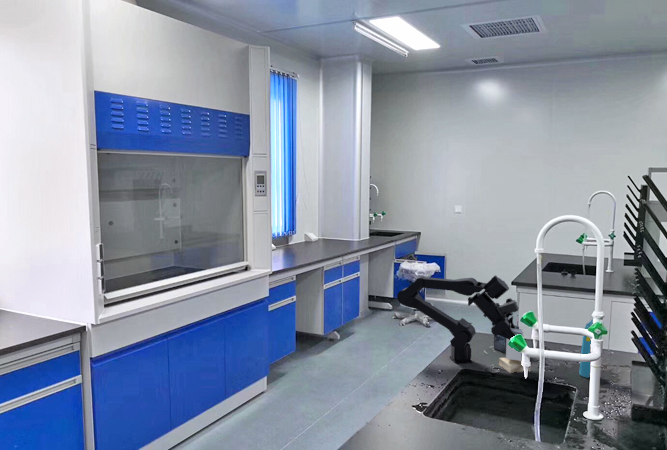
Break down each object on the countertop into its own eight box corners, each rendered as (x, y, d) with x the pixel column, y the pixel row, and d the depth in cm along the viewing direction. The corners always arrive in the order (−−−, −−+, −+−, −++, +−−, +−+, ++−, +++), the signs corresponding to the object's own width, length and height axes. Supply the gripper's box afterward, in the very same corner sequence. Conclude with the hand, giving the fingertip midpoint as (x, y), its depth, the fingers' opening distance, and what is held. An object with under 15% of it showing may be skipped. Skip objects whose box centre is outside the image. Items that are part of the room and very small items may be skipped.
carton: (505, 358, 180) (506, 331, 179) (507, 353, 185) (508, 327, 184) (522, 361, 178) (523, 333, 177) (523, 356, 183) (524, 329, 182)
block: (510, 374, 177) (510, 365, 177) (499, 365, 185) (499, 358, 185) (531, 372, 179) (531, 364, 178) (519, 364, 187) (519, 356, 186)
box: (493, 349, 203) (493, 323, 202) (503, 346, 205) (504, 321, 204) (508, 354, 196) (509, 328, 195) (519, 352, 198) (519, 326, 198)
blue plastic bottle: (593, 380, 170) (594, 324, 168) (577, 377, 173) (579, 322, 171) (596, 373, 176) (598, 319, 174) (581, 370, 179) (583, 317, 177)
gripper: (501, 298, 173) (535, 333, 169) (507, 287, 190) (538, 319, 186) (477, 318, 177) (510, 353, 173) (485, 306, 194) (515, 337, 190)
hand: (519, 340), depth 180 cm, fingers closed on carton, 5 cm apart
